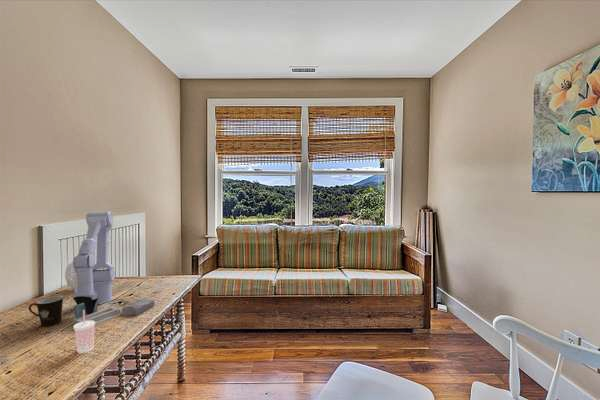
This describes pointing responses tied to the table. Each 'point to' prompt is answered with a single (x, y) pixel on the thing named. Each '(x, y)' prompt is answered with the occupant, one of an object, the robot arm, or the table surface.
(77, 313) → the door panel
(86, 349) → the beverage cup
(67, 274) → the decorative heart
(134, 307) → the stone block
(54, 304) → the coffee mug
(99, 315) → the rectangular tray
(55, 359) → the table surface
